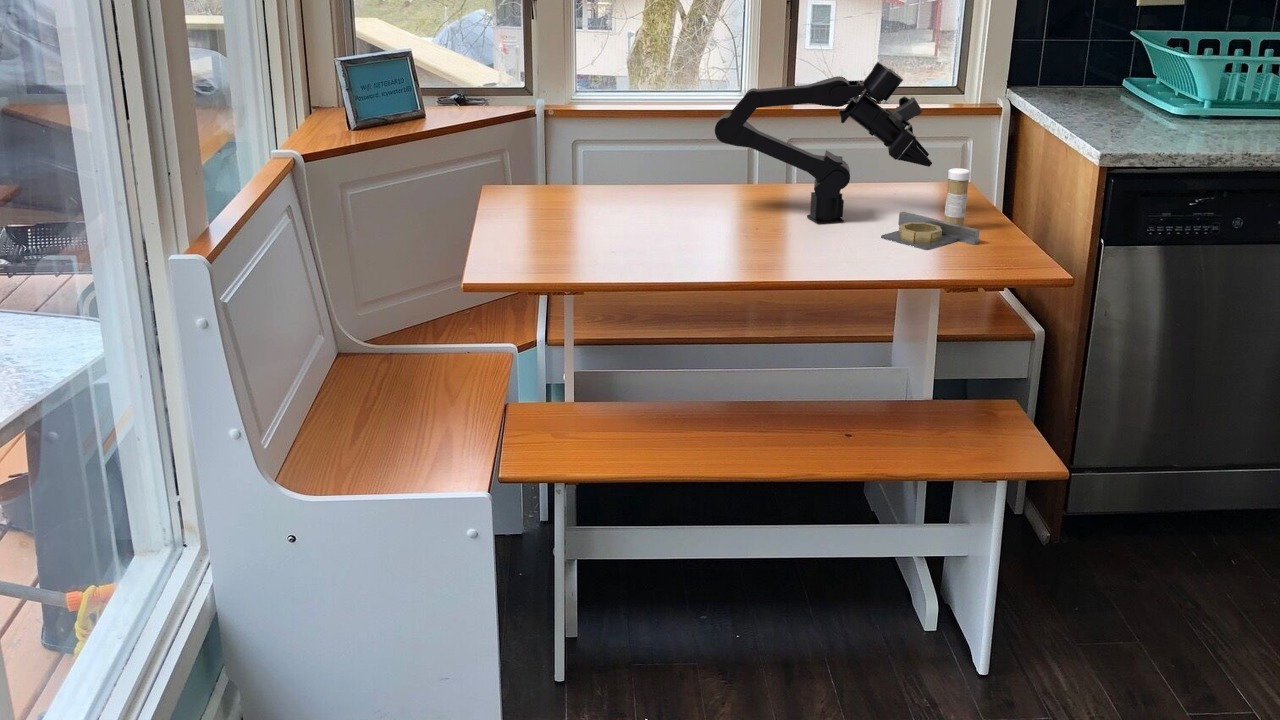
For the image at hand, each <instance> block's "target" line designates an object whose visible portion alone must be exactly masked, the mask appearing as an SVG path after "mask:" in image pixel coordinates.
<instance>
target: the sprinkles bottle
mask: <svg viewBox="0 0 1280 720" xmlns="http://www.w3.org/2000/svg"><path fill="white" fill-rule="evenodd" d="M947 172H948V173H947V174H948V175H947V179H948V180H947V189H946V190H947V191H946V201H945V208H944V219H943V221H945V222H949V223H953V224H957V225H961V226H965V225H964V224H965V217H966V211H967V200H968V187H969V180H970V178H971V177H970V176H971V172H970V170H969V169H967V168H959V167H956V168H955V167H954V168H950V169H948V171H947Z"/></svg>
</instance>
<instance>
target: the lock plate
mask: <svg viewBox="0 0 1280 720" xmlns="http://www.w3.org/2000/svg"><path fill="white" fill-rule="evenodd" d="M898 225H899V226H898ZM898 225H897V226H898V230H896V231H892V232H889V233H884V234H881V236H880V238H881V239H883V238H884V239H883V240H887V239H888V241H891V240H892V241H891V242H894V241H896V243H898V242H899V243H898V244H902V245H906V246H909V245H911V247H913V246H914V247H915V248H918V249H922V250H924V251H927V250H928V251H929V250H931V249H934V248H935V249H936V248H939V247H941V246H946V245H948V244H952V243H956V242H960V243H965V244H968V245H973V246H975V245H977V244H979V240H980V229H978V228H974V227H973V228H972V227H969V226H965V225H964V226H961V225H957V224H953V223H949V222H945V221H944V220H942V219H941V220H939V219H937V218H933V217H928V216H923V215H919V214H916V213H911V212H907V211H900V212H899V213H898ZM914 247H913V248H914Z"/></svg>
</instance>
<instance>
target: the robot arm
mask: <svg viewBox="0 0 1280 720" xmlns="http://www.w3.org/2000/svg"><path fill="white" fill-rule="evenodd" d="M903 82H904V79H903V78H902V77H901V75H899V74H898V73H896V72H895V71H894V70H893V69H891V68H888V67H887V66H886V65H883V64H882V63H880V62H879V61H877V62H876V63H875V64H874V66H873V68H872V69H871V71H870V72H869V74H868V75H867V76H866V78H865V79H864V80H848V79H847V78H845V76H844V77H843V76H833V77H828V78H826V79H821V80H818V81H816V82H813V83H810V84H802V85H789V86H780V87H779V86H778V87H768V88H750V89H748V90H747V91H746V93H745V95H744V96H743V97H742V98H741V100H740V101H739V102H738V103H737V104H736V105H735V106H734V107H733V108H732V110H731V111H730V112H726V113H724V114H722V115H721V116H720V117H719V118H718V120H717V122H716V123H715V127H714V135H715V137H716V139H717V140H718V141H719V142H721V143H722V144H726V145H730V146H735V147H741V148H749V149H751V150H755V151H758V152H760V153H762V154H764V155H766V156H769V157H771V158H774V159H776V160H778V161H780V162H783V163H785V164H788V165H790V166H793V167H795V168H796V169H799V170H801V171H804V172H807V174H809V175H810V176H811V177H813V178H814V183H813V190H814V191H813V192H810V194H811V195H810V196H811V197H810V206H809V207H810V210H809V214H807V215H806V218H808V219H809V220H811V221H813V222H814V223H815V224H818V225H821V224H834V223H843V222H844V221H845V220H844V219H843V217H844V202H845V201H844V199H843V193H842V192H841V190H843V189H845V188H846V187H847V186H848V185H849V183H850V180H851V171H850V167H849V164H848V163H847V162H846V160H843V159H844V158H843V156H839V155H835V154H834V153H832V152H830V151H829V150H825V152H824V155H818V154H814V153H812V152H809V151H808V150H807V151H806V150H804V149H802V148H799V147H798V146H795V145H793V144H790V143H788V142H786V141H783V140H781V139H779V138H776V137H774V136H771V135H769V134H768V133H765V132H762V131H760V130H759V129H757V128H755V126H753V125H752V124H751V123H750V122H748V120H749V118H750V117H751V116H752V114H753V113H754V112H755V111H756V110H757V109H759V108H769V107H781V106H783V107H784V106H792V105H793V106H794V105H795V106H796V105H807V104H808V105H809V104H810V105H818V106H825V107H832V108H833V107H834V108H839V107H843V106H846V107H844V108H840V109H839V110H838V113H839V114H840V116H839V117H840V122H841V124H845V122H846V121H847V120H848V119H849V118H850V119H851V120H853V121H854V122H856V123H857V124H858V125H859V126H861V127H862V128H863V129H865V130H866V131H868V134H869V135H871V137H873V136H874V137H875V138H877V139H878V140H879V141H880V142H882V144H883V145H884V146H885V147H886V148H887V151H888V156H889V157H891V158H893V160H895V161H896V160H898V161H902V162H908V163H911V164H915V165H921V166H924V167H931V166H932V165H933V162H932V160H930V158H929V157H928V156H929V155H930V153H929V152H928V151H927V150H926V149H925V148H924V146H923V145H922V143H920V142H919V140H918V139H917V137H916V135H915V134H914V131H913V129H914V128H913V124H911V122H910V120H911V119H913V118H914V117H918V116H919V115H921V114H922V113H923V110H922V108H921V106H920V105H919V103H918V101H917V100H916V98H915V97H911V98H908V97H907V96H903V97H900V98H899V99H898V106H896V108H894V109H893V110H890V109H888V108H883V107H882V106H880V105H879V104H878V103H881V102H883V101H885V102H887V101H888V100H889V99H890V98H891V96H892V95H893V94H894V93H895V92H896V90H897V89H898V88H899V86H900V85H901V84H902V83H903ZM867 95H869V96H870V97H871V98H872V99H874V100H875V101H876V102H878V103H876V102H875V101H873V100H872V99H871V98H870V97H868V96H867ZM856 97H858V98H857V99H854V98H856ZM849 101H850V102H849ZM848 102H849V103H848ZM907 126H908V127H907ZM906 127H907V128H906Z"/></svg>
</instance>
